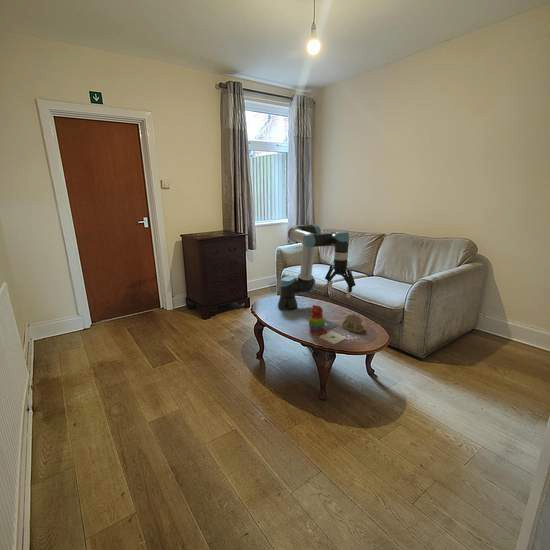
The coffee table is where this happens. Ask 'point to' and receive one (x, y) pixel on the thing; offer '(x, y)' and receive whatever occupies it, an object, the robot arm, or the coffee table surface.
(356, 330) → the beige lumpy chunk
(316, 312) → the stacking bear
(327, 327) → the pad
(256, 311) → the coffee table surface
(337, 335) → the pad
